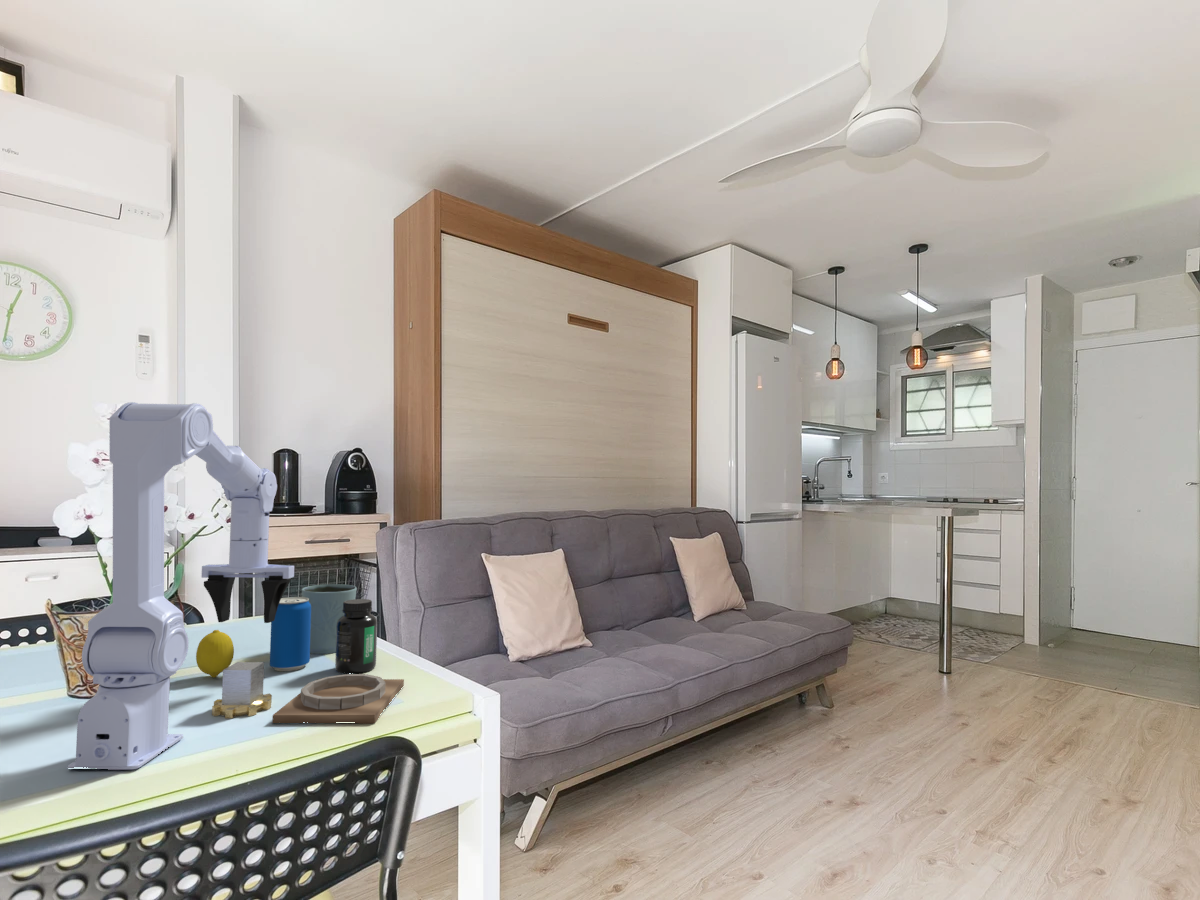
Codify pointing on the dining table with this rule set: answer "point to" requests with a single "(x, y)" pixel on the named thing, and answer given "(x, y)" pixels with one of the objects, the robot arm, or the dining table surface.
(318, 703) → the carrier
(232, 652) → the lemon
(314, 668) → the dining table surface
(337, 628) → the supplement bottle
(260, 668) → the gear
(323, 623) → the green plant pot
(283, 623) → the beverage can
